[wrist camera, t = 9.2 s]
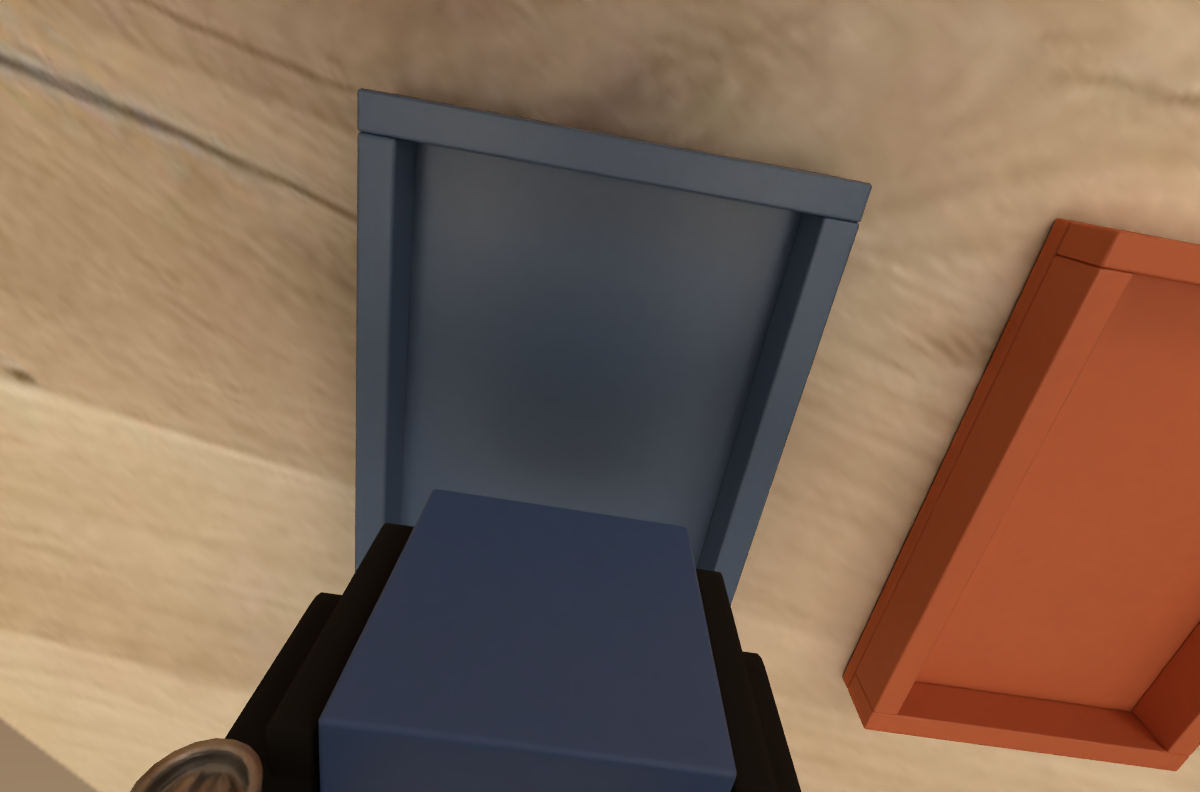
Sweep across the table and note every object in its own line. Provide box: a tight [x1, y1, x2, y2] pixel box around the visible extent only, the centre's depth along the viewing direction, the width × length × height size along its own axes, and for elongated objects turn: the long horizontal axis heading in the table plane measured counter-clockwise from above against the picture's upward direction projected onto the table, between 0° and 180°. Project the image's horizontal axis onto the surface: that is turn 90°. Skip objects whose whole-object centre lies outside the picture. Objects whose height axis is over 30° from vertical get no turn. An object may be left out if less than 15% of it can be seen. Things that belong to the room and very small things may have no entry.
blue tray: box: [355, 88, 872, 605], centre depth 16 cm, size 16×11×2 cm
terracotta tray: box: [843, 219, 1200, 771], centre depth 17 cm, size 16×11×2 cm
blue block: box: [319, 489, 737, 792], centre depth 9 cm, size 4×4×4 cm
